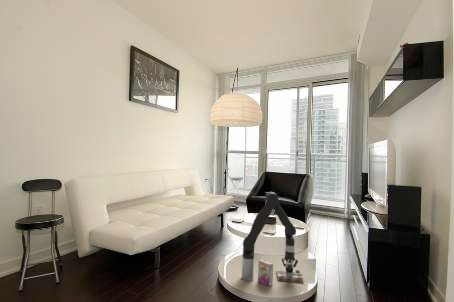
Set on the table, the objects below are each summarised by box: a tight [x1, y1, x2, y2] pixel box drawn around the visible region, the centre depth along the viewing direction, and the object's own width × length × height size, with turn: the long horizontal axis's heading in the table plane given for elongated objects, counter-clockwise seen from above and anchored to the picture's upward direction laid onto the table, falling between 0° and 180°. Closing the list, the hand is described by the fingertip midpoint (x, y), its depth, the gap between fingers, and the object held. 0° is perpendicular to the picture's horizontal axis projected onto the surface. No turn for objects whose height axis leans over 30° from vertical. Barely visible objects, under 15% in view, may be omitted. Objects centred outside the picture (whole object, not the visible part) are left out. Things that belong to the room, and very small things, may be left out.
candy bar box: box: [257, 259, 274, 287], centre depth 187 cm, size 11×5×16 cm, turn 44°
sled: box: [285, 263, 293, 277], centre depth 198 cm, size 5×12×11 cm, turn 174°
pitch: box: [275, 268, 305, 284], centre depth 199 cm, size 20×16×4 cm
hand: (289, 271), depth 194 cm, fingers closed on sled, 3 cm apart
